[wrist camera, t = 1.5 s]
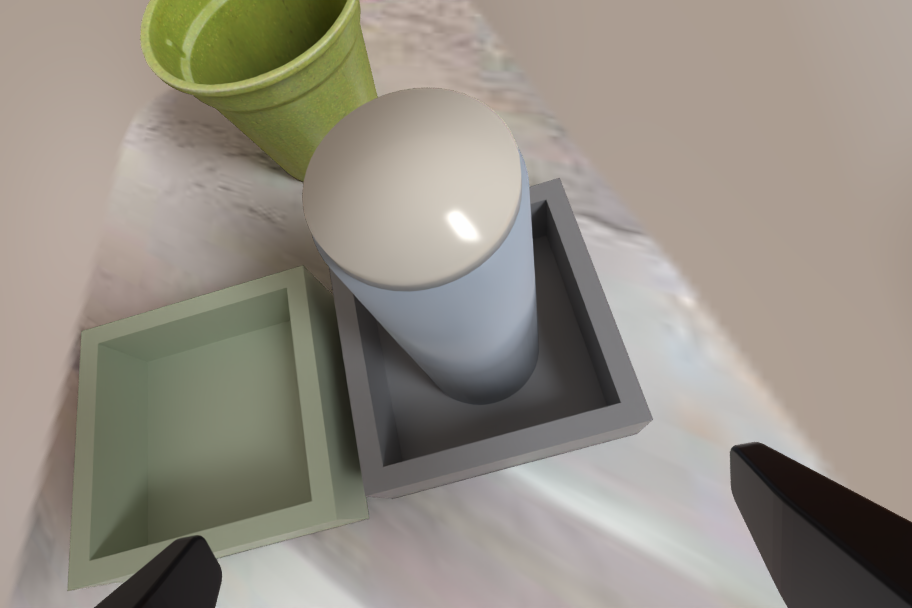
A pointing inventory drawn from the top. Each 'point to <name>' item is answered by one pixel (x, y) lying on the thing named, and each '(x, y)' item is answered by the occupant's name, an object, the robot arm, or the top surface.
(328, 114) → the plant pot
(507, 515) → the top surface
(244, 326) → the sage bin
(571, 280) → the charcoal bin
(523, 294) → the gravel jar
